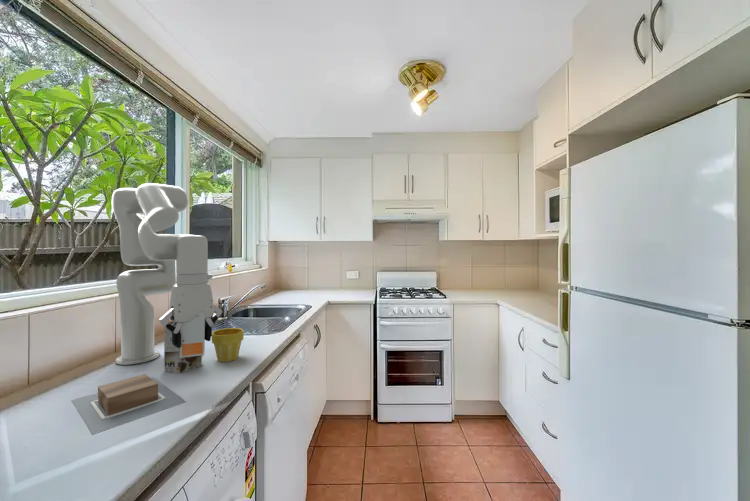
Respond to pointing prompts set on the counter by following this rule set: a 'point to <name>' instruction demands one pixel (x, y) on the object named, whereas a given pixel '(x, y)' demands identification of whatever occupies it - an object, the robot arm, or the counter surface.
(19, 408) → the counter surface
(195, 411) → the counter surface
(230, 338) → the plant pot
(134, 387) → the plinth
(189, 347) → the skincare box
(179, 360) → the coffee box
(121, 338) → the robot arm
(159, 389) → the grey rectangular mat
